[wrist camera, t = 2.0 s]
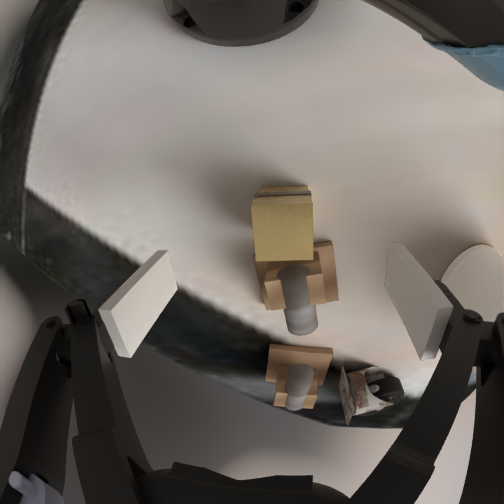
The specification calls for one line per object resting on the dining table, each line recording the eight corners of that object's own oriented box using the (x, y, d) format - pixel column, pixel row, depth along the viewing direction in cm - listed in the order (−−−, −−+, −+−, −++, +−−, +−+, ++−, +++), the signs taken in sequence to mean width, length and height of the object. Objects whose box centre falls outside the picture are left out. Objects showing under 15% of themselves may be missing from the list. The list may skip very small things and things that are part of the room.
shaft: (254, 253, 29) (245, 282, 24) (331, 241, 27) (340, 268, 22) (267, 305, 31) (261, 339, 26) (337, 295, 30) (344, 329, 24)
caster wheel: (388, 384, 38) (332, 399, 39) (406, 347, 32) (338, 365, 32) (399, 417, 33) (340, 435, 33) (423, 386, 26) (350, 410, 27)
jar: (495, 304, 27) (545, 374, 13) (443, 331, 30) (484, 415, 16) (495, 233, 23) (572, 296, 10) (437, 262, 26) (506, 347, 13)
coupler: (260, 186, 26) (249, 204, 20) (308, 184, 25) (313, 201, 19) (263, 231, 28) (254, 262, 22) (309, 230, 27) (314, 260, 21)
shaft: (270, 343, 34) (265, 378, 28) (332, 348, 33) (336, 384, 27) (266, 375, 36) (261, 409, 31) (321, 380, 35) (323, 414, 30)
